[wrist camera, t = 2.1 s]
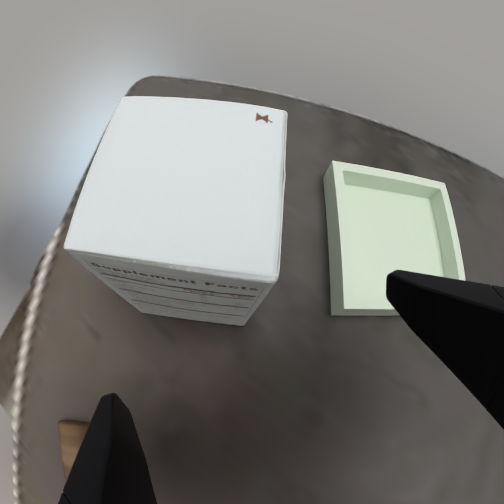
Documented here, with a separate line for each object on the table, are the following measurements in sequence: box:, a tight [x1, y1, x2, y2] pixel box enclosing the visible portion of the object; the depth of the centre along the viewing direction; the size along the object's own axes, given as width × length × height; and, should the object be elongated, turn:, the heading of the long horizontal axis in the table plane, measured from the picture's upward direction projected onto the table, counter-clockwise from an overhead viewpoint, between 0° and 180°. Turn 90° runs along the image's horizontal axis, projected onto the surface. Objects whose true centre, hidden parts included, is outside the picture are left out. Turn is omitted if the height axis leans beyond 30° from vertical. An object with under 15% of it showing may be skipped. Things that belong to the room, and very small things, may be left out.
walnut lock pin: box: [58, 420, 90, 481], centre depth 15 cm, size 6×2×2 cm
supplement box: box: [64, 96, 287, 326], centre depth 16 cm, size 7×7×13 cm
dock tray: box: [323, 161, 466, 316], centre depth 24 cm, size 12×12×2 cm
